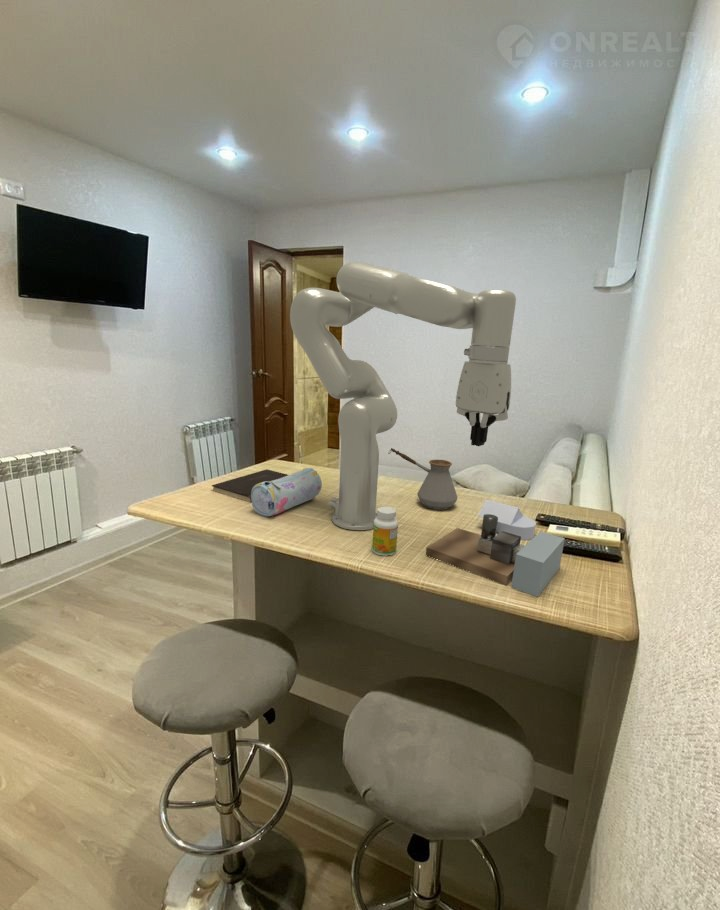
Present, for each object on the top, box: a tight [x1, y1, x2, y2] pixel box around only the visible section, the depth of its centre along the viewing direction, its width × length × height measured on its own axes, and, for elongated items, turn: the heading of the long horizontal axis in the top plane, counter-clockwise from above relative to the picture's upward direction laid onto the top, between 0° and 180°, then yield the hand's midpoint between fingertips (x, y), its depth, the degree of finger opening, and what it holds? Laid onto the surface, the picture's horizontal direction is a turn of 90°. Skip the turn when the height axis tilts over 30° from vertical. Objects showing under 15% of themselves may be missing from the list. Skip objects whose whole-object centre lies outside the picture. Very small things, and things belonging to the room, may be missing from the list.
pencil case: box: [251, 467, 323, 517], centre depth 121 cm, size 21×9×10 cm, turn 146°
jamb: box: [510, 531, 566, 598], centre depth 90 cm, size 5×15×7 cm, turn 142°
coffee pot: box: [387, 447, 458, 511], centre depth 130 cm, size 21×12×15 cm, turn 67°
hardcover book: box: [211, 468, 289, 504], centre depth 137 cm, size 16×23×2 cm
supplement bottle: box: [371, 506, 399, 557], centre depth 97 cm, size 5×5×10 cm
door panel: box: [425, 527, 522, 586], centre depth 97 cm, size 18×15×6 cm
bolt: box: [477, 514, 525, 563], centre depth 93 cm, size 12×3×8 cm, turn 52°
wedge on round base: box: [477, 498, 537, 541], centre depth 113 cm, size 9×7×13 cm
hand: (477, 444), depth 94 cm, fingers closed
